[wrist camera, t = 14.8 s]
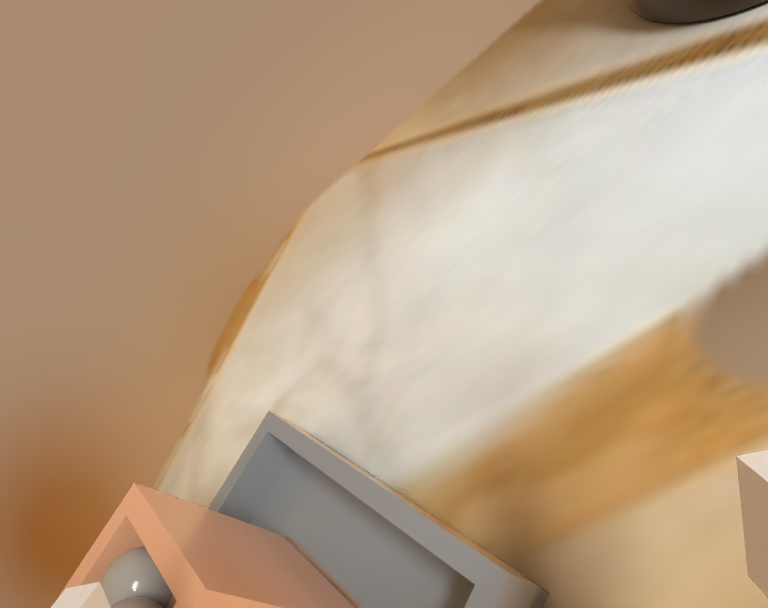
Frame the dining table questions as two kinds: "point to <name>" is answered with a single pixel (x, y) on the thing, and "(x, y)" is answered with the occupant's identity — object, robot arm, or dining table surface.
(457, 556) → the slate dish
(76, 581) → the peach box
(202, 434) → the dining table surface
